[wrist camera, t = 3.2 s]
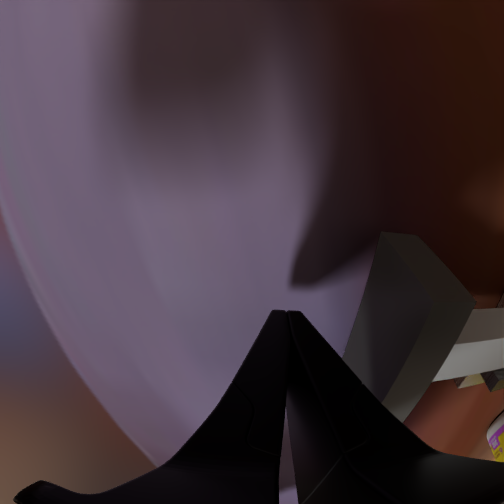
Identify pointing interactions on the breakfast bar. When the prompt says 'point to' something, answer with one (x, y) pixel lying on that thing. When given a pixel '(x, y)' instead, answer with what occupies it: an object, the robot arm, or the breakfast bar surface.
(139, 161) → the breakfast bar surface
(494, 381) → the track
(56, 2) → the breakfast bar surface
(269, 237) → the breakfast bar surface
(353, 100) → the breakfast bar surface
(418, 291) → the thick grey end plate
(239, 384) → the robot arm
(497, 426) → the supplement bottle
